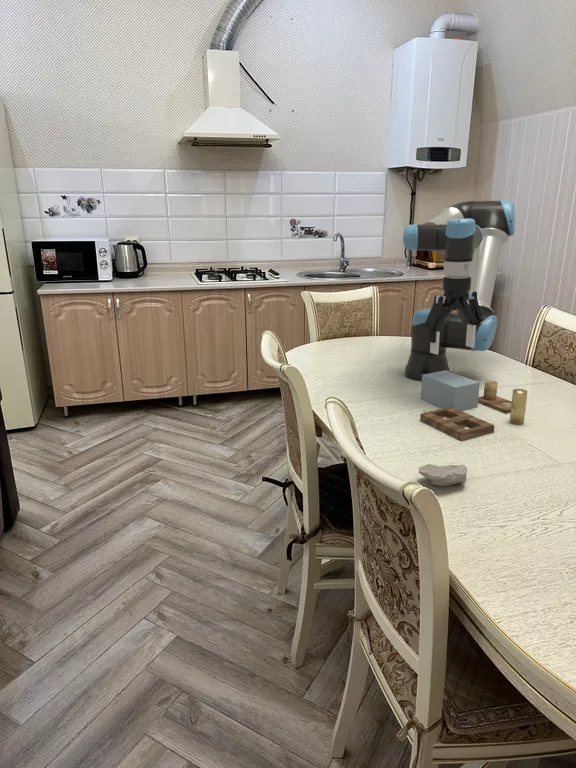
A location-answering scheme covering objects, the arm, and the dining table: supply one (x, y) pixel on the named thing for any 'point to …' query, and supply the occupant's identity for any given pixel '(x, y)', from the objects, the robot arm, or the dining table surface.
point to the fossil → (444, 474)
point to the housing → (450, 390)
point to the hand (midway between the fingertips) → (452, 350)
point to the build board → (457, 423)
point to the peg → (518, 406)
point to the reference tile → (496, 404)
